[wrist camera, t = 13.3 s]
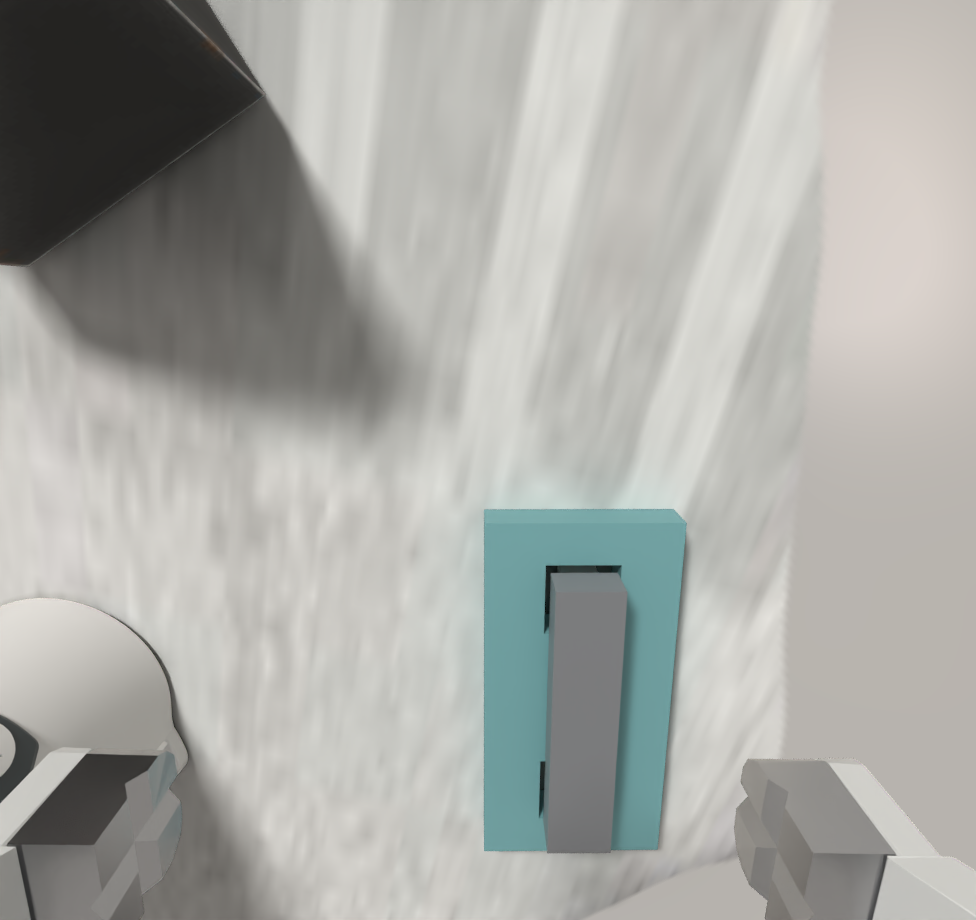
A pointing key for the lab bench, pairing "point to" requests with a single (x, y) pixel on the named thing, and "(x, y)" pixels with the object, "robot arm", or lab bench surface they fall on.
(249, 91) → the voltmeter
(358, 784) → the lab bench surface
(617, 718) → the pin bar
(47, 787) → the robot arm
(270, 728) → the lab bench surface
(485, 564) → the mounting plate
